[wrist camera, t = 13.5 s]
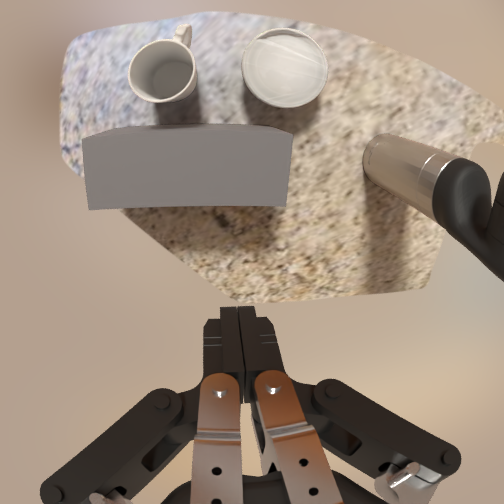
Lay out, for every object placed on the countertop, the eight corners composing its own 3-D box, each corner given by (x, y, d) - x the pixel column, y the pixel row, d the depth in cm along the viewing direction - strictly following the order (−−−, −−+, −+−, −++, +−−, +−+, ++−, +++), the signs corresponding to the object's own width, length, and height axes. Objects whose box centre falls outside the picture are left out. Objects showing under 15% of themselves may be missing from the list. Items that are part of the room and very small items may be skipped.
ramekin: (305, 32, 31) (318, 24, 27) (321, 100, 37) (336, 101, 32) (229, 43, 31) (232, 34, 26) (248, 114, 37) (253, 116, 32)
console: (269, 125, 38) (293, 134, 27) (265, 178, 42) (285, 206, 31) (115, 128, 34) (81, 138, 24) (117, 181, 38) (88, 210, 28)
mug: (188, 109, 35) (180, 110, 25) (143, 97, 33) (118, 94, 22) (215, 45, 31) (219, 22, 20) (170, 33, 29) (156, 7, 18)
